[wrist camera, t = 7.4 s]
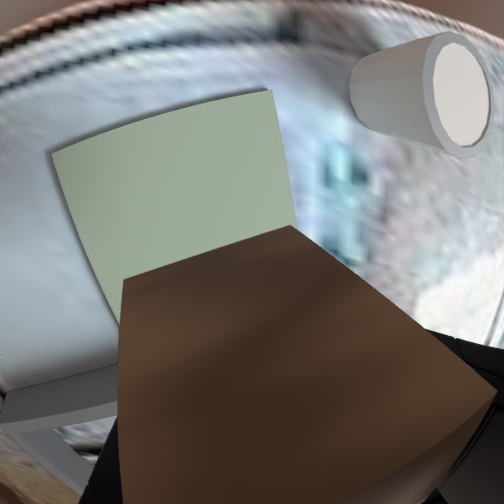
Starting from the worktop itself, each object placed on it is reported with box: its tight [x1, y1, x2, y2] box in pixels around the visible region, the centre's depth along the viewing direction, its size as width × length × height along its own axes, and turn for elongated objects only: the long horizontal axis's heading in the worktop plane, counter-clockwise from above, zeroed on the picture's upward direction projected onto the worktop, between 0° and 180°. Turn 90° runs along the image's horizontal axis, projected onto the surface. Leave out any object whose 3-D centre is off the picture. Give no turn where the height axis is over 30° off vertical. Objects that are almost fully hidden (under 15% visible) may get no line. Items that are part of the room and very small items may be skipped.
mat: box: [52, 90, 298, 325], centre depth 17 cm, size 12×12×1 cm
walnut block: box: [117, 225, 498, 504], centre depth 6 cm, size 4×4×6 cm
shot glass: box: [348, 31, 494, 159], centre depth 15 cm, size 7×7×7 cm
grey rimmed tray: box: [0, 364, 118, 496], centre depth 23 cm, size 20×24×4 cm
